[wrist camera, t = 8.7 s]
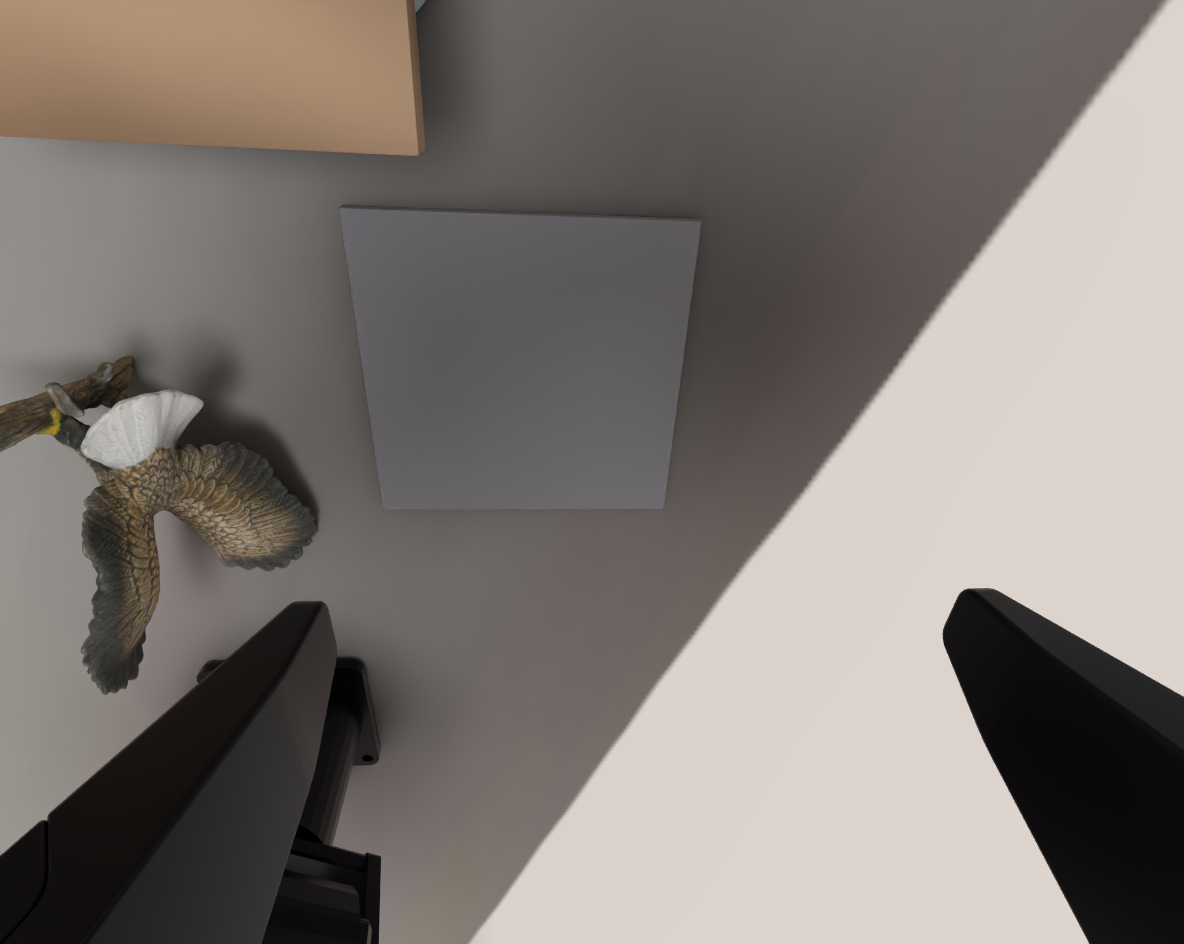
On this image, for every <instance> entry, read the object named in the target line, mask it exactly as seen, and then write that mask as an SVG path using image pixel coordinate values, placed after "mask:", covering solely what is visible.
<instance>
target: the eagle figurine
mask: <svg viewBox="0 0 1184 944" xmlns="http://www.w3.org/2000/svg"><path fill="white" fill-rule="evenodd" d="M133 361H134V360H133V358H132V357H123V358H121V359H119V360H117V361H116V362H115V363H114V364H111V363H102V364H100V365H99V367H98V370H97V372H96V374H92V375H89V376H88V377H87V378H86V379H83V380H79V381H76V382H72V383H69V384H66V385H63V386H61V385H60V384H59V383H55V382H54V383H48V384H47V385H46V390H47V392H44V393H42V394H39V395H36V396H34V397H31V398H28V399H24V400H20V401H16V402H12V403H9V404H6V405H3V406H0V452H2V451H3V450H5V449H7V448H10V447H12V446H14V445H16V444H17V443H18V442H20V441H22V440H24V439H25V438H27V437H29V436H31V435H33V434H50V435H52V436H54V437H55V438H56V439H57V440H58V441H59V442H60V443H62V444H64V445H66V446H68V447H70V448H72V449H74V450H75V451H76V452H77V453H78V454H79V455H80V456H81V458H83V459H84V460H85V461H86V463H87V464H88V465H89V466H90V467H91V468H92V469H93V470H94V471H95V473H96V476H97V480H98V482H99V483H100V484H101V486H100V487H96V488H95V489H94V490H93V491H92V493H91V495H90V496H88V497H87V498H86V499H85V501H84V506H85V507H86V508H87V511H85V512H84V513H83V522H82V527H83V529H82V537H83V543H82V551H83V553H84V555H85V556H86V557H87V558H89V559H90V560H91V561H92V563H93V567H94V568H95V570H96V571H97V573H98V576H97V579H96V584H97V586H98V589H97V591H96V593H95V594H94V596H93V598H92V600H91V601H92V604H93V614H94V617H93V619H92V620H91V622H90V623H89V624H88V627H89V630H90V635H89V637H88V638H87V639H86V640H85V642H84V644H83V646H82V648H81V653H82V654H83V655H84V657H83V664H84V666H89V668H88V671H87V672H88V674H90V675H92V681H93V682H96V685H97V687H98V688H100V689H101V691H102V693H103V694H104V695H107V694H108V693H109V692H111V693H116V692H118V690H119V689H126V687H127V685H128V680H134V679H136V678H137V676H138V672H139V668H138V665H139V663H140V662H141V661H142V659H143V649H142V644H143V643H144V642H145V640H146V635H145V628H146V626H147V624H148V623H149V621H150V619H151V617H152V614H153V612H154V610H155V607H156V604H157V602H158V598H159V592H160V577H159V571H160V568H159V559H158V551H157V547H156V541H155V532H154V520H153V517H154V515H155V514H156V513H158V512H159V511H162V510H167V511H169V512H171V513H173V514H174V515H175V516H177V517H178V518H179V519H181V520H182V521H183V522H184V523H186V524H187V525H188V526H190V527H191V528H192V529H193V530H194V531H195V532H196V533H197V534H198V535H199V536H200V537H201V538H202V539H203V540H204V541H205V542H207V543H208V544H209V545H210V546H211V547H212V548H213V550H214V551H215V553H216V554H217V556H218V558H219V559H220V561H221V562H222V563H223V564H224V565H225V566H227V567H234V566H240V567H242V568H244V569H246V570H251V569H253V568H255V567H257V566H258V567H259V568H261V569H262V570H265V571H272V570H273V569H274V568H275V567H279V568H286V567H287V566H288V565H289V562H290V560H291V559H293V560H297V559H299V558H300V557H301V555H302V549H301V546H308V545H309V544H311V541H310V538H309V537H313V536H314V535H315V534H316V530H315V528H316V524H315V523H314V522H313V521H314V520H315V517H314V515H313V514H311V513H310V511H311V510H310V508H309V507H308V506H302V505H301V502H300V501H299V500H298V498H297V496H295V495H293V494H288V493H287V492H288V490H287V488H286V487H285V486H283V485H282V484H281V481H280V480H279V479H278V478H275V477H273V476H272V474H273V469H272V468H271V467H270V466H269V465H268V460H267V459H265V458H263V457H261V456H260V455H259V454H258V453H256V452H254V451H250V450H248V449H247V448H246V447H245V446H244V445H243V444H241V443H236V444H233V443H231V442H228V441H227V442H223V443H222V444H221V445H219V446H215V445H211V444H205V445H203V446H201V447H200V448H196V447H195V446H193V445H191V444H177V441H178V439H179V437H180V435H181V434H182V432H183V431H184V430H185V428H186V427H187V425H188V424H189V422H190V421H191V420H192V419H193V418H194V417H195V416H196V414H197V413H198V412H199V411H200V409H201V408H202V407H203V405H204V404H203V401H202V400H200V399H199V398H198V397H196V396H194V395H190V394H186V393H183V392H181V391H178V390H177V389H173V388H169V389H165V390H162V391H159V392H152V393H144V394H140V395H138V396H135V397H131V398H129V397H128V396H126V395H125V394H122V391H123V390H124V389H126V388H127V387H128V386H129V384H130V379H131V378H130V377H131V376H132V374H133V372H134V370H133V368H132V363H133ZM100 404H102V405H104V406H106V407H108V408H111V409H110V410H109V411H108V412H106V413H105V414H103V415H102V416H101V418H100V419H99V420H98V421H97V422H96V423H95V424H94V425H92V426H90V425H85V424H83V423H82V422H80V421H78V420H77V419H75V418H74V417H73V416H76V417H81V416H84V413H85V412H84V410H85V409H88V408H96V407H98V406H99V405H100Z"/></svg>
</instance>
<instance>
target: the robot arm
mask: <svg viewBox="0 0 1184 944" xmlns="http://www.w3.org/2000/svg"><path fill="white" fill-rule="evenodd" d="M943 642H944V646H945V649H946V651H947V654H948V656H949V658H950V661H951V664H952V666H953V668H954V670H955V673H956V676H957V678H958V681H959V683H960V686H961V688H962V691H963V693H964V696H965V698H966V700H967V703H968V705H969V708H970V710H971V713H972V715H973V718H974V720H975V723H976V725H977V727H978V730H979V732H980V734H981V736H982V739H983V741H984V743H985V745H986V747H987V749H988V751H989V753H990V755H991V757H992V759H993V761H994V763H995V765H996V767H997V769H998V771H999V772H1000V774H1001V776H1002V778H1003V780H1004V782H1005V784H1006V786H1007V787H1008V790H1009V792H1010V793H1011V795H1012V797H1013V799H1014V801H1015V803H1016V805H1017V807H1018V809H1019V811H1020V812H1021V814H1022V816H1023V818H1024V820H1025V822H1026V824H1027V826H1028V828H1029V830H1030V831H1031V833H1032V835H1033V837H1034V839H1035V841H1036V843H1037V845H1038V847H1039V849H1040V851H1041V853H1042V854H1043V856H1044V858H1045V860H1046V862H1047V864H1048V866H1049V868H1050V870H1051V871H1052V873H1053V875H1054V877H1055V879H1056V881H1057V883H1058V885H1059V887H1060V889H1061V891H1062V892H1063V894H1064V896H1065V898H1066V900H1067V902H1068V904H1069V906H1070V908H1071V910H1072V912H1073V913H1074V915H1075V917H1076V919H1077V921H1078V923H1079V925H1080V927H1081V929H1082V931H1083V932H1084V934H1085V936H1086V938H1087V940H1088V942H1089V944H1184V697H1183V696H1181V695H1180V694H1178V693H1176V692H1174V691H1172V690H1171V689H1169V688H1167V687H1166V686H1164V685H1162V684H1160V683H1159V682H1157V681H1155V680H1153V679H1152V678H1150V677H1148V676H1146V675H1144V674H1143V673H1141V672H1139V671H1137V670H1136V669H1134V668H1132V667H1130V666H1129V665H1127V664H1125V663H1123V662H1122V661H1120V660H1118V659H1116V658H1114V657H1113V656H1111V655H1109V654H1108V653H1106V652H1104V651H1102V650H1101V649H1099V648H1097V647H1095V646H1094V645H1092V644H1090V643H1088V642H1087V641H1085V640H1083V639H1081V638H1080V637H1078V636H1076V635H1074V634H1072V633H1071V632H1069V631H1067V630H1066V629H1064V628H1062V627H1060V626H1059V625H1057V624H1055V623H1053V622H1051V621H1050V620H1048V619H1046V618H1044V617H1043V616H1041V615H1039V614H1038V613H1036V612H1034V611H1032V610H1031V609H1029V608H1027V607H1025V606H1024V605H1022V604H1020V603H1018V602H1016V601H1015V600H1013V599H1011V598H1009V597H1008V596H1006V595H1004V594H1002V593H1001V592H999V591H997V590H995V589H989V588H974V589H966V590H963V591H962V592H961V593H960V594H959V596H958V597H957V600H956V602H955V604H954V606H953V608H952V610H951V613H950V615H949V617H948V619H947V621H946V623H945V626H944V629H943ZM336 656H337V647H336V641H335V636H334V632H333V627H332V623H331V619H330V614H329V610H328V607H327V605H326V604H325V603H324V602H322V601H297V602H293V603H291V604H289V605H288V606H287V607H286V608H285V609H283V610H282V611H281V612H280V613H279V614H278V615H277V616H275V617H274V618H273V619H272V620H271V621H270V622H268V623H267V624H266V625H265V626H264V627H263V628H262V629H260V630H259V631H258V632H257V633H256V634H255V635H254V636H252V637H251V638H250V639H249V640H248V641H247V642H246V643H244V644H243V645H242V646H241V647H240V648H239V649H237V650H236V651H235V652H234V653H233V654H232V655H231V656H229V657H228V658H227V659H226V660H225V661H224V662H223V663H220V664H206V665H204V666H203V667H202V668H201V670H200V672H199V674H198V676H197V682H198V684H197V685H196V686H195V687H194V688H193V689H191V690H190V691H189V692H188V693H187V694H186V695H185V696H183V697H182V698H181V699H180V700H179V701H178V702H177V703H175V704H174V705H173V706H172V707H171V708H170V709H169V710H167V711H166V712H165V713H164V714H163V715H162V716H160V717H159V718H158V719H157V720H156V721H155V722H154V723H152V724H151V725H150V726H149V727H148V728H147V729H146V730H144V731H143V732H142V733H141V734H140V735H139V736H137V737H136V738H135V739H134V740H133V741H132V742H131V743H129V744H128V745H127V746H126V747H125V748H124V749H123V750H121V751H120V752H119V753H118V754H117V755H116V756H114V757H113V758H112V759H111V760H110V761H109V762H108V763H106V764H105V765H104V766H103V767H102V768H101V769H100V770H98V771H97V772H96V773H95V774H94V775H93V776H92V777H90V778H89V779H88V780H87V781H86V782H85V783H83V784H82V785H81V786H80V787H79V788H78V789H77V790H75V791H74V792H73V793H72V794H71V795H70V796H69V797H67V798H66V799H65V800H64V801H63V802H62V803H60V804H59V805H58V806H57V807H56V808H55V809H54V810H52V811H51V812H50V813H49V815H48V817H47V821H46V820H42V821H40V822H38V823H37V824H36V825H35V826H34V827H33V828H31V829H30V830H29V831H28V832H27V833H26V834H24V835H23V836H22V837H21V838H20V839H19V840H18V841H16V842H15V843H14V844H13V845H12V846H11V847H10V848H8V849H7V850H6V851H5V852H4V853H3V854H1V855H0V944H379V912H380V876H381V856H378V855H374V854H370V853H366V854H365V855H364V854H360V853H356V852H353V851H349V850H345V849H341V848H338V847H334V846H332V844H333V840H334V836H335V832H336V828H337V825H338V821H339V817H340V813H341V809H342V805H343V801H344V797H345V793H346V789H347V785H348V781H349V777H350V773H351V769H352V766H353V765H371V764H375V763H377V761H378V760H379V756H380V745H379V740H378V734H377V729H376V724H375V719H374V714H373V709H372V704H371V699H370V694H369V688H368V683H367V678H366V673H365V668H364V666H363V665H362V664H361V663H360V662H357V661H352V660H342V661H336ZM351 672H353V673H351Z"/></svg>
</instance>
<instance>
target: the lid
mask: <svg viewBox="0 0 1184 944" xmlns="http://www.w3.org/2000/svg"><path fill="white" fill-rule="evenodd" d="M0 136H7V137H28V138H49V139H70V140H92V141H113V142H134V143H155V144H176V145H197V146H219V147H240V148H261V149H282V150H303V151H324V152H345V153H367V154H388V155H409V156H419V155H420V154H421V153H423V152H424V151H425V150H426V147H425V133H424V120H423V106H422V93H421V80H420V66H419V53H418V39H417V26H416V12H415V0H0Z"/></svg>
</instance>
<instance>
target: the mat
mask: <svg viewBox="0 0 1184 944" xmlns="http://www.w3.org/2000/svg"><path fill="white" fill-rule="evenodd" d="M339 213H340V220H341V227H342V234H343V240H344V247H345V254H346V261H347V268H348V275H349V281H350V288H351V295H352V302H353V309H354V316H355V322H356V329H357V336H358V343H359V350H360V357H361V363H362V370H363V377H364V384H365V391H366V398H367V404H368V411H369V418H370V425H371V432H372V438H373V445H374V452H375V459H376V466H377V473H378V479H379V486H380V493H381V500H382V507H383V510H502V509H664V502H665V495H666V487H667V480H668V472H669V464H670V457H671V449H672V442H673V434H674V427H675V419H676V412H677V404H678V396H679V389H680V381H681V374H682V366H683V359H684V351H685V344H686V336H687V328H688V321H689V313H690V306H691V298H692V291H693V283H694V276H695V268H696V260H697V253H698V245H699V238H700V230H701V223H702V221H701V220H700V219H695V218H668V217H642V216H615V215H588V214H562V213H535V212H509V211H482V210H455V209H429V208H402V207H375V206H349V205H342V206H341V207H339Z"/></svg>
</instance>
